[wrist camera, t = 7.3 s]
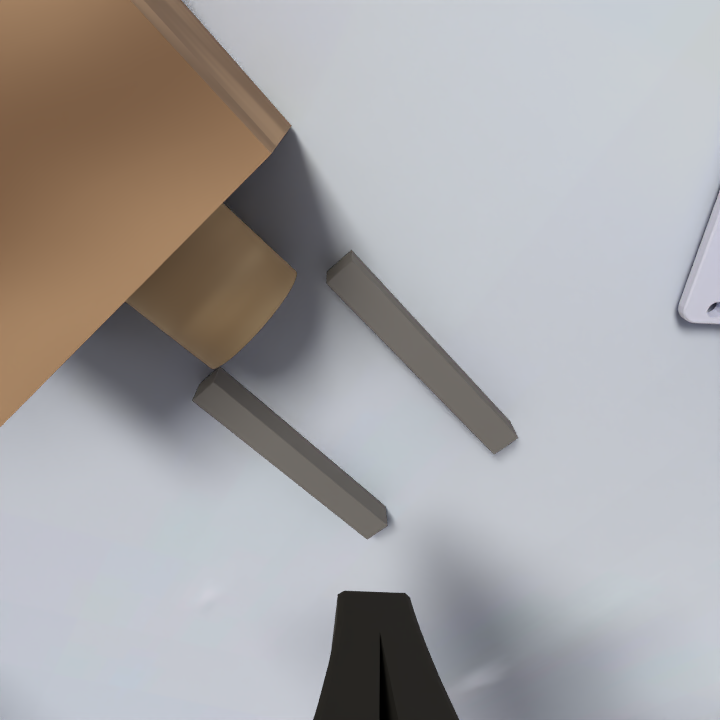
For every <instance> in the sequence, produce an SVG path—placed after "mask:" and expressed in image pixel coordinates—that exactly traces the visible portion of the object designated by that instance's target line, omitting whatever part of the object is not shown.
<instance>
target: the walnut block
mask: <svg viewBox="0 0 720 720" xmlns="http://www.w3.org/2000/svg"><path fill="white" fill-rule="evenodd" d="M290 127H291V125H290V123H289V122H288V121H287V120H286V119H285V118H284V117H283V116H282V114H281V113H280V112H279V111H278V110H277V109H276V108H275V106H274V105H273V104H272V103H271V102H270V101H269V100H268V98H267V97H266V96H265V95H264V94H263V93H262V92H261V90H260V89H259V88H258V87H257V86H256V85H255V84H254V82H253V81H252V80H251V79H250V78H249V77H248V76H247V75H246V73H245V72H244V71H243V70H242V69H241V68H240V67H239V65H238V64H237V63H236V62H235V61H234V60H233V59H232V57H231V56H230V55H229V54H228V53H227V52H226V51H225V49H224V48H223V47H222V46H221V45H220V44H219V43H218V42H217V40H216V39H215V38H214V37H213V36H212V35H211V34H210V32H209V31H208V30H207V29H206V28H205V27H204V26H203V24H202V23H201V22H200V21H199V20H198V19H197V18H196V16H195V15H194V14H193V13H192V12H191V11H190V10H189V8H188V7H187V6H186V5H185V4H184V3H183V2H182V1H181V0H0V427H1V426H2V425H3V424H4V423H5V422H6V421H7V420H8V419H9V418H10V417H11V416H12V415H13V414H14V413H15V412H16V411H17V410H18V409H19V408H20V407H21V406H22V405H23V404H24V403H25V402H26V401H27V400H28V399H29V398H30V397H31V396H32V395H33V394H34V393H35V392H36V391H37V390H38V389H39V388H40V387H41V386H42V385H43V383H44V382H45V381H46V380H47V379H48V378H49V377H50V376H51V375H52V374H53V373H54V372H55V371H56V370H57V369H58V368H59V367H60V366H61V365H62V364H63V363H64V362H65V361H66V360H67V359H68V358H69V357H70V356H71V355H72V354H73V353H74V352H75V351H76V350H77V349H78V348H79V347H80V346H81V345H82V344H83V343H84V342H85V341H86V340H87V339H88V338H89V337H90V336H91V335H92V334H93V333H94V332H95V331H96V330H97V329H98V328H99V327H100V326H101V325H102V324H103V323H104V322H105V321H106V320H107V319H108V318H109V317H110V316H111V315H112V314H113V313H114V312H115V311H116V310H117V309H118V308H119V307H120V306H121V305H122V304H123V303H124V302H125V301H126V300H127V299H128V298H129V297H130V296H131V295H132V294H133V293H134V292H135V291H136V290H137V289H138V288H139V287H140V286H141V285H142V284H143V283H144V282H145V281H146V280H147V279H148V278H149V277H150V276H151V275H152V274H153V273H154V272H155V271H156V270H157V269H158V268H159V267H160V266H161V265H162V264H163V263H164V262H165V261H166V260H167V259H168V258H169V257H170V256H171V255H172V253H173V252H174V251H175V250H176V249H177V248H178V247H179V246H180V245H181V244H182V243H183V242H184V241H185V240H186V239H187V238H188V237H189V236H190V235H191V234H192V233H193V232H194V231H195V230H196V229H197V228H198V227H199V226H200V225H201V224H202V223H203V222H204V221H205V220H206V219H207V218H208V217H209V216H210V215H211V214H212V213H213V212H214V211H215V210H216V209H217V208H218V207H219V206H220V205H221V204H222V203H223V202H224V201H225V200H226V199H227V198H228V197H229V196H230V195H231V194H232V193H233V192H234V191H235V190H236V189H237V188H238V187H239V186H240V185H241V184H242V183H243V182H244V181H245V180H246V179H247V178H248V177H249V176H250V175H251V174H252V173H253V172H254V171H255V170H256V169H257V168H258V167H259V166H260V165H261V164H262V163H263V162H264V161H265V160H266V159H267V158H268V157H269V156H270V155H271V154H272V152H273V151H274V149H275V148H276V147H277V145H278V144H279V142H280V141H281V140H282V138H283V137H284V135H285V134H286V133H287V131H288V130H289V128H290Z"/></svg>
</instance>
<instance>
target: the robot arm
mask: <svg viewBox="0 0 720 720" xmlns="http://www.w3.org/2000/svg"><path fill="white" fill-rule="evenodd" d="M716 302H717V304H716V307H715V308H714V309H713V310H712V311H710V312H707V311H708V308H709V307H710V305H712V304H713V303H716ZM678 312H679V315H680V316H681V317H683V318H684V319H685V320H687V321H688V322H691V323H700V324H720V191H719V194H718V197H717V200H716V203H715V205H714V208H713V211H712V214H711V216H710V219H709V222H708V225H707V227H706V230H705V233H704V236H703V239H702V241H701V244H700V247H699V250H698V252H697V255H696V258H695V261H694V264H693V266H692V269H691V272H690V275H689V277H688V280H687V283H686V286H685V288H684V291H683V294H682V297H681V300H680V302H679V306H678ZM313 720H459V718H458V716H457V714H456V712H455V710H454V708H453V705H452V703H451V701H450V699H449V697H448V695H447V692H446V690H445V688H444V686H443V684H442V682H441V679H440V677H439V675H438V672H437V670H436V668H435V665H434V663H433V661H432V658H431V656H430V653H429V651H428V648H427V646H426V643H425V641H424V638H423V635H422V633H421V630H420V627H419V624H418V622H417V619H416V616H415V613H414V610H413V607H412V603H411V600H410V597H409V596H408V595H407V594H406V593H388V592H361V591H343V592H341V593H340V594H338V598H337V607H336V615H335V624H334V632H333V641H332V650H331V655H330V660H329V664H328V668H327V672H326V676H325V680H324V683H323V687H322V691H321V695H320V699H319V702H318V706H317V709H316V713H315V716H314V719H313Z"/></svg>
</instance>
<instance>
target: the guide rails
mask: <svg viewBox="0 0 720 720" xmlns="http://www.w3.org/2000/svg"><path fill="white" fill-rule="evenodd" d="M326 284H327V285H328V286H329V287H330V288H331V289H332V290H333V291H334V292H335V293H336V294H337V295H338V296H339V297H340V298H341V299H342V300H343V301H344V302H345V303H346V304H347V305H348V306H349V307H350V308H351V309H352V310H353V311H354V312H355V313H356V314H357V315H358V316H359V317H360V318H361V319H362V320H363V321H364V322H365V323H366V324H367V325H368V326H369V327H370V328H371V329H372V330H373V331H374V332H375V333H376V335H377V336H378V337H379V338H380V339H381V340H382V341H383V342H384V343H385V344H386V345H387V346H388V347H389V348H390V349H391V350H392V351H393V352H394V353H395V354H396V355H397V356H398V357H399V358H400V359H401V360H402V361H403V362H404V363H405V364H406V365H407V366H408V367H409V368H410V369H411V370H412V371H413V372H414V373H415V374H416V375H417V376H418V377H419V378H420V379H421V380H422V381H423V382H424V383H425V384H426V385H427V386H428V388H429V389H430V390H431V391H432V392H433V393H434V394H435V395H436V396H437V397H438V398H439V399H440V400H441V401H442V402H443V403H444V404H445V405H446V406H447V407H448V408H449V409H450V410H451V411H452V412H453V413H454V414H455V415H456V416H457V417H458V418H459V419H460V420H461V421H462V422H463V423H464V424H465V425H466V426H467V427H468V428H469V429H470V430H471V431H472V432H473V433H474V434H475V435H476V436H477V437H478V438H479V439H480V441H481V442H482V443H483V444H484V445H485V446H486V447H487V448H488V449H489V450H490V451H491V452H492V453H493V454H495V453H497V452H498V451H500V450H501V449H503V448H504V447H506V446H507V445H509V444H510V443H512V442H513V441H515V440H516V439H518V437H517V435H516V432H515V430H514V428H513V426H512V424H511V422H510V421H509V420H508V419H507V417H506V416H505V415H504V414H503V413H502V412H501V411H500V410H499V409H498V408H497V407H496V406H495V405H494V403H493V402H492V401H491V400H490V399H489V398H488V397H487V396H486V395H485V394H484V393H483V392H482V390H481V389H480V388H479V387H478V386H477V385H476V384H475V383H474V382H473V381H472V380H471V379H470V378H469V376H468V375H467V374H466V373H465V372H464V371H463V370H462V369H461V368H460V367H459V366H458V365H457V363H456V362H455V361H454V360H453V359H452V358H451V357H450V356H449V355H448V354H447V353H446V352H445V351H444V349H443V348H442V347H441V346H440V345H439V344H438V343H437V342H436V341H435V340H434V339H433V338H432V336H431V335H430V334H429V333H428V332H427V331H426V330H425V329H424V328H423V327H422V326H421V325H420V324H419V322H418V321H417V320H416V319H415V318H414V317H413V316H412V315H411V314H410V313H409V312H408V311H407V309H406V308H405V307H404V306H403V305H402V304H401V303H400V302H399V301H398V300H397V299H396V298H395V296H394V295H393V294H392V293H391V292H390V291H389V290H388V289H387V288H386V287H385V286H384V285H383V284H382V282H381V281H380V280H379V279H378V278H377V277H376V276H375V275H374V274H373V273H372V272H371V271H370V269H369V268H368V267H367V266H366V265H365V264H364V263H363V262H362V261H361V260H360V259H359V258H358V257H357V255H356V254H355V253H354V252H353V251H352V250H351V251H350V252H349V253H348V254H346V255H345V256H344V257H343V258H342V259H341V260H340V261H339V262H337V263H336V264H335V265H334V266H333V267H332V268H331V269H329V270H328V271H327V281H326ZM192 401H193V402H195V403H196V404H197V405H198V406H200V407H201V408H202V409H203V410H205V411H206V412H207V413H209V414H210V415H211V416H212V417H214V418H215V419H216V420H217V421H219V422H220V423H221V424H222V425H224V426H225V427H226V428H227V429H229V430H230V431H231V432H232V433H234V434H235V435H236V436H237V437H239V438H240V439H241V440H243V441H244V442H245V443H246V444H248V445H249V446H250V447H251V448H253V449H254V450H255V451H256V452H258V453H259V454H260V455H261V456H263V457H264V458H265V459H266V460H268V461H269V462H270V463H272V464H273V465H274V466H275V467H277V468H278V469H279V470H280V471H282V472H283V473H284V474H285V475H287V476H288V477H289V478H290V479H292V480H293V481H294V482H295V483H297V484H298V485H299V486H301V487H302V488H303V489H304V490H306V491H307V492H308V493H309V494H311V495H312V496H313V497H314V498H316V499H317V500H318V501H319V502H321V503H322V504H323V505H324V506H326V507H327V508H328V509H329V510H331V511H332V512H333V513H335V514H336V515H337V516H338V517H340V518H341V519H342V520H343V521H345V522H346V523H347V524H348V525H350V526H351V527H352V528H353V529H355V530H356V531H357V532H358V533H360V534H361V535H362V536H364V537H365V538H366V539H369V538H370V537H372V536H373V535H375V534H376V533H378V532H379V531H381V530H382V529H384V528H385V527H387V526H388V525H387V516H386V507H385V506H384V505H383V504H382V503H381V502H379V501H378V500H377V499H376V498H375V497H373V496H372V495H371V494H370V493H369V492H368V491H366V490H365V489H364V488H363V487H362V486H360V485H359V484H358V483H357V482H356V481H355V480H353V479H352V478H351V477H350V476H349V475H347V474H346V473H345V472H344V471H343V470H342V469H340V468H339V467H338V466H337V465H336V464H334V463H333V462H332V461H331V460H330V459H328V458H327V457H326V456H325V455H324V454H323V453H321V452H320V451H319V450H318V449H317V448H315V447H314V446H313V445H312V444H311V443H310V442H308V441H307V440H306V439H305V438H304V437H302V436H301V435H300V434H299V433H298V432H297V431H295V430H294V429H293V428H292V427H291V426H289V425H288V424H287V423H286V422H285V421H283V420H282V419H281V418H280V417H279V416H278V415H276V414H275V413H274V412H273V411H272V410H270V409H269V408H268V407H267V406H266V405H265V404H263V403H262V402H261V401H260V400H259V399H257V398H256V397H255V396H254V395H253V394H252V393H250V392H249V391H248V390H247V389H246V388H244V387H243V386H242V385H241V384H240V383H238V382H237V381H236V380H235V379H234V378H233V377H231V376H230V375H229V374H228V373H227V372H225V371H224V370H223V369H222V368H221V367H218V368H217V369H216V370H215V371H214V372H213V373H212V374H211V375H209V376H208V377H207V378H206V379H205V380H204V381H203V382H201V383H200V384H199V386H198V389H197V391H196V393H195V396H194V398H193V400H192Z"/></svg>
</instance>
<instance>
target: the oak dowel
mask: <svg viewBox="0 0 720 720" xmlns="http://www.w3.org/2000/svg"><path fill="white" fill-rule="evenodd" d="M296 276H297V272H296V271H295V270H294V269H293V268H292V267H291V266H290V265H289V264H288V263H287V262H286V261H285V260H283V259H282V258H281V257H280V256H279V255H278V254H277V253H276V252H275V251H274V250H273V249H272V248H271V247H269V246H268V245H267V244H266V243H265V242H264V241H263V240H262V239H261V238H260V237H259V236H258V235H257V234H255V233H254V232H253V231H252V230H251V229H250V228H249V227H248V226H247V225H246V224H245V223H244V222H243V221H241V220H240V219H239V218H238V217H237V216H236V215H235V214H234V213H233V212H232V211H231V210H230V209H229V208H227V207H226V206H225V205H224V204H223V203H222V204H221V205H220V206H219V207H218V208H217V209H216V210H215V211H214V212H213V213H212V214H211V215H210V216H209V217H208V218H207V219H206V220H205V221H204V222H203V223H202V224H201V225H200V226H199V227H198V228H197V229H196V230H195V231H194V232H193V233H192V234H191V235H190V236H189V237H188V238H187V239H186V240H185V241H184V242H183V243H182V244H181V245H180V246H179V247H178V248H177V249H176V250H175V251H174V252H173V253H172V255H171V256H170V257H169V258H168V259H167V260H166V261H165V262H164V263H163V264H162V265H161V266H160V267H159V268H158V269H157V270H156V271H155V272H154V273H153V274H152V275H151V276H150V277H149V278H148V279H147V280H146V281H145V282H144V283H143V284H142V285H141V286H140V287H139V288H138V289H137V290H136V291H135V292H134V293H133V294H132V295H131V296H130V297H129V298H128V299H127V300H126V301H125V302H126V303H128V304H129V305H130V306H131V307H133V308H134V309H135V310H137V311H138V312H139V313H140V314H142V315H143V316H144V317H146V318H147V319H148V320H149V321H151V322H152V323H153V324H155V325H156V326H157V327H158V328H160V329H161V330H162V331H164V332H165V333H166V334H167V335H169V336H170V337H171V338H173V339H174V340H175V341H176V342H178V343H179V344H180V345H181V346H183V347H184V348H185V349H187V350H188V351H189V352H190V353H192V354H193V355H194V356H196V357H197V358H198V359H199V360H201V361H202V362H203V363H205V364H206V365H207V366H208V367H210V368H211V369H215V368H218V367H220V366H221V365H223V364H224V363H226V362H227V361H228V360H230V359H231V358H232V357H233V356H235V355H236V354H237V353H238V352H239V351H240V350H241V349H242V348H243V347H244V346H245V345H246V344H247V343H248V342H249V341H250V340H251V339H252V338H253V337H254V336H255V335H256V334H257V333H258V332H259V331H260V330H261V328H262V327H263V326H264V325H265V324H266V323H267V321H268V320H269V319H270V318H271V317H272V315H273V314H274V313H275V312H276V310H277V309H278V308H279V306H280V305H281V303H282V302H283V301H284V299H285V298H286V296H287V295H288V293H289V291H290V290H291V288H292V286H293V284H294V282H295V279H296Z"/></svg>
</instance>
